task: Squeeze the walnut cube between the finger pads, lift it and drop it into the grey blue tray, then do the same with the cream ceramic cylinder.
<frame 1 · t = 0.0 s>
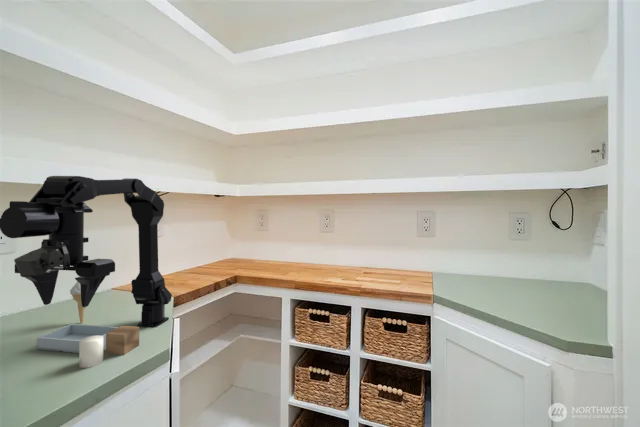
hand: (66, 305, 64), 15 cm above the worktop, tool pointing down, fingers open, 9 cm apart
ice cream cone: (81, 323, 90), on the worktop
cream cylinder: (91, 362, 68), on the worktop
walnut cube: (122, 349, 75), on the worktop
grey blue tray: (80, 343, 77), on the worktop
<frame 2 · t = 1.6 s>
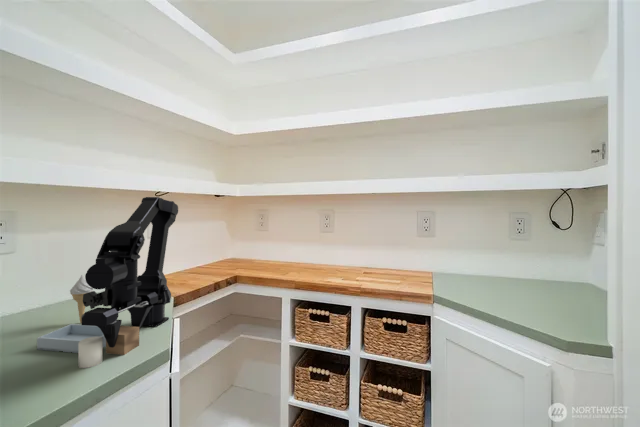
hand: (123, 340, 74), 2 cm above the worktop, tool pointing down, fingers open, 7 cm apart
cream cylinder: (90, 364, 68), on the worktop, touching gripper
everything else where it was.
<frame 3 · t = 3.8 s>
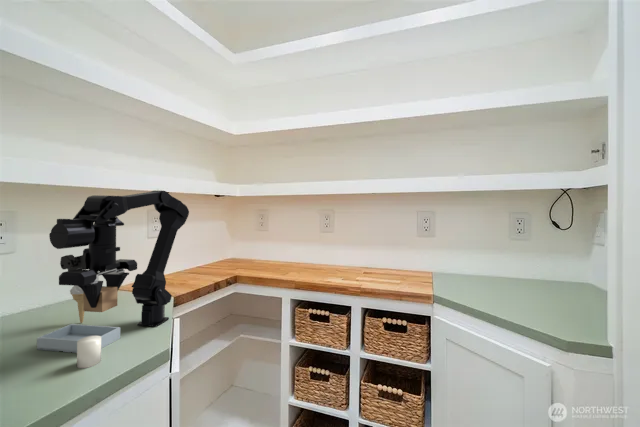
hand: (102, 304, 76), 11 cm above the worktop, tool pointing down, fingers closed on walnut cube, 5 cm apart
cream cylinder: (89, 363, 68), on the worktop
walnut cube: (100, 308, 76), point 10 cm above the worktop, touching gripper
everything else where it was.
when the fingers open (4 cm above the worktop, at t = 5.4 s): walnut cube drops 2 cm, resting on grey blue tray.
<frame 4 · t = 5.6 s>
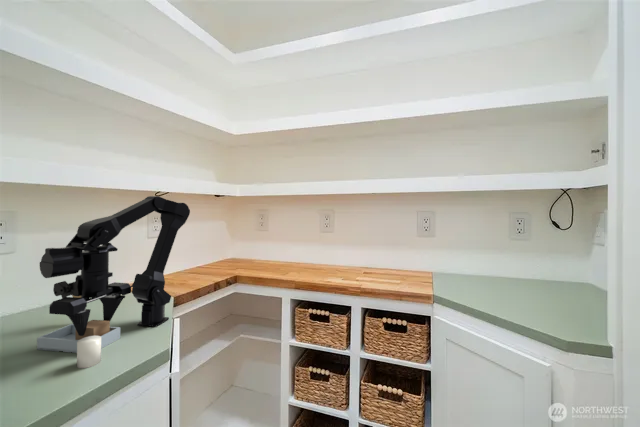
hand: (94, 329, 77), 4 cm above the worktop, tool pointing down, fingers open, 7 cm apart
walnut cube: (92, 342, 77), resting on grey blue tray
everything else where it was.
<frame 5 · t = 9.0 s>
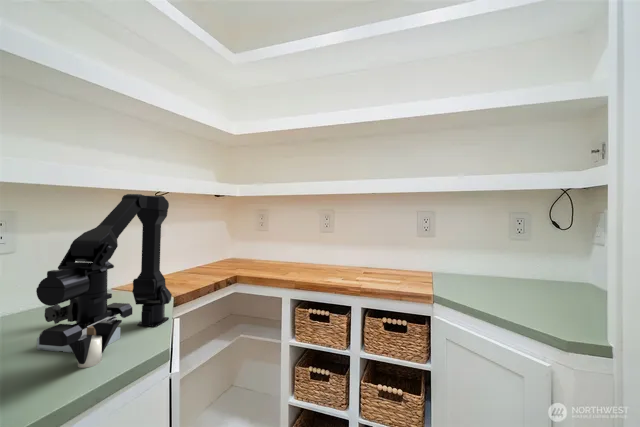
hand: (91, 358, 68), 1 cm above the worktop, tool pointing down, fingers closed on cream cylinder, 4 cm apart
cream cylinder: (89, 362, 68), on the worktop, touching gripper
everything else where it was.
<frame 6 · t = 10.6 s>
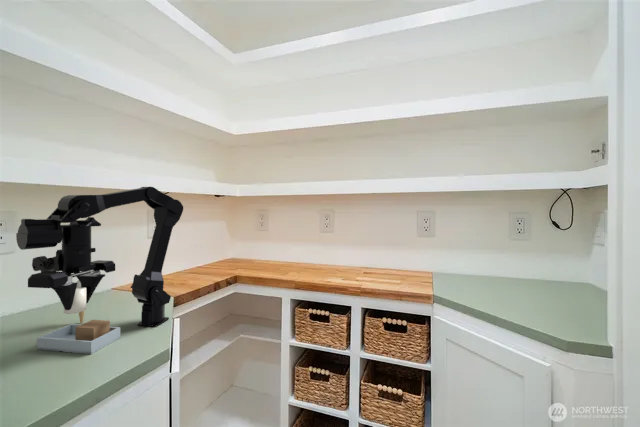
hand: (76, 306, 74), 11 cm above the worktop, tool pointing down, fingers closed on cream cylinder, 4 cm apart
cream cylinder: (75, 310, 74), point 10 cm above the worktop, touching gripper
everything else where it was.
when the fingers open (4 cm above the worktop, at t = 12.4 s): cream cylinder drops 2 cm, resting on grey blue tray.
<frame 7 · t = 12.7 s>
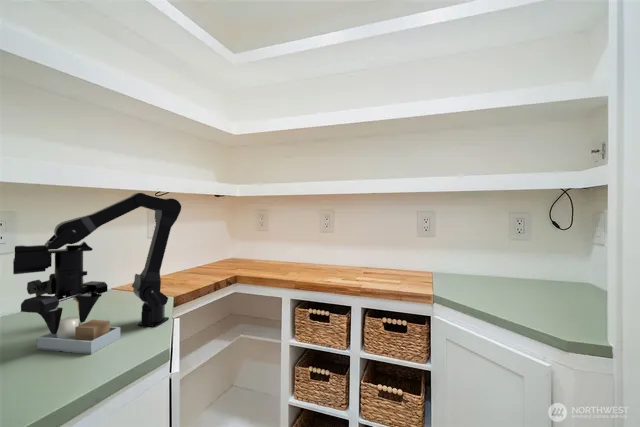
hand: (68, 327, 77), 4 cm above the worktop, tool pointing down, fingers open, 7 cm apart
cream cylinder: (67, 340, 78), point 1 cm above the worktop, touching grey blue tray
everything else where it was.
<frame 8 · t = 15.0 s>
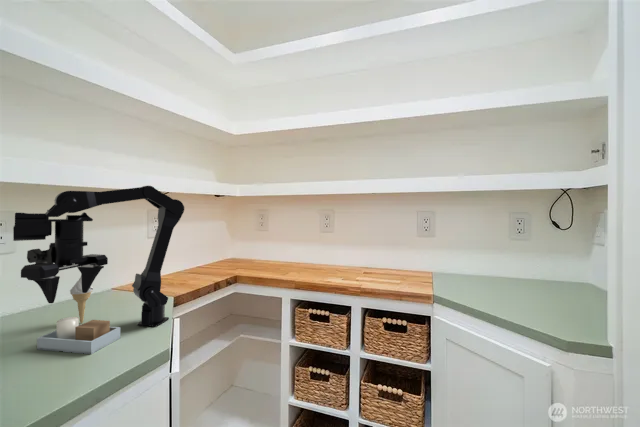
hand: (68, 297, 77), 12 cm above the worktop, tool pointing down, fingers open, 9 cm apart
nothing on the worktop moved.
at the end: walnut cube inside the target area on the grey blue tray (3.7 cm from its centre), point 0.5 cm above the grey blue tray's base; cream cylinder inside the target area on the grey blue tray (3.9 cm from its centre), point 0.6 cm above the grey blue tray's base; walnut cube tilted 0° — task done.
